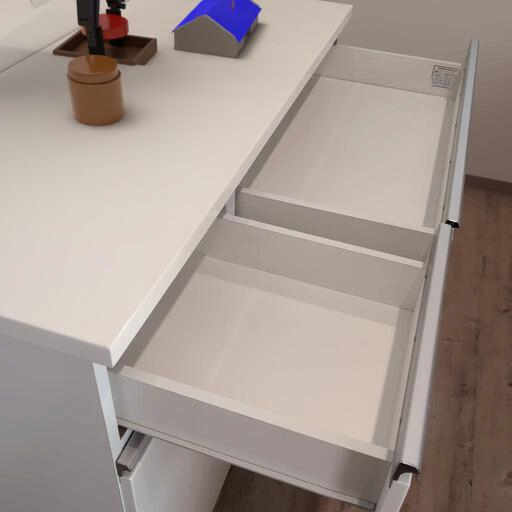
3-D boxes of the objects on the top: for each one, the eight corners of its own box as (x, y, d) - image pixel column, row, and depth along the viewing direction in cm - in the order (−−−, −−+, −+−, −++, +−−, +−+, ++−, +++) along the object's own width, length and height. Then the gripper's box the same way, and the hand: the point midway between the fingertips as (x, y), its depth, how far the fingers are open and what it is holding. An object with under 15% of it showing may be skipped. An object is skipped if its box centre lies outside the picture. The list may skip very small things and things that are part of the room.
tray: (54, 64, 99) (52, 50, 98) (83, 40, 109) (81, 28, 107) (135, 75, 98) (134, 62, 96) (157, 51, 107) (156, 38, 105)
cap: (135, 26, 103) (135, 17, 102) (118, 42, 96) (117, 32, 95) (93, 21, 104) (92, 11, 102) (73, 35, 97) (72, 25, 96)
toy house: (239, 58, 107) (240, 19, 102) (170, 48, 108) (169, 10, 103) (261, 23, 123) (263, -12, 118) (201, 15, 125) (201, -20, 120)
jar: (66, 132, 81) (55, 70, 75) (87, 110, 87) (78, 50, 81) (115, 140, 80) (107, 78, 74) (133, 117, 86) (127, 57, 80)
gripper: (86, -72, 79) (104, 78, 94) (136, -95, 95) (145, 36, 110) (37, -77, 80) (63, 72, 95) (95, -99, 96) (110, 32, 111)
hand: (107, 53), depth 103 cm, fingers closed on cap, 8 cm apart
